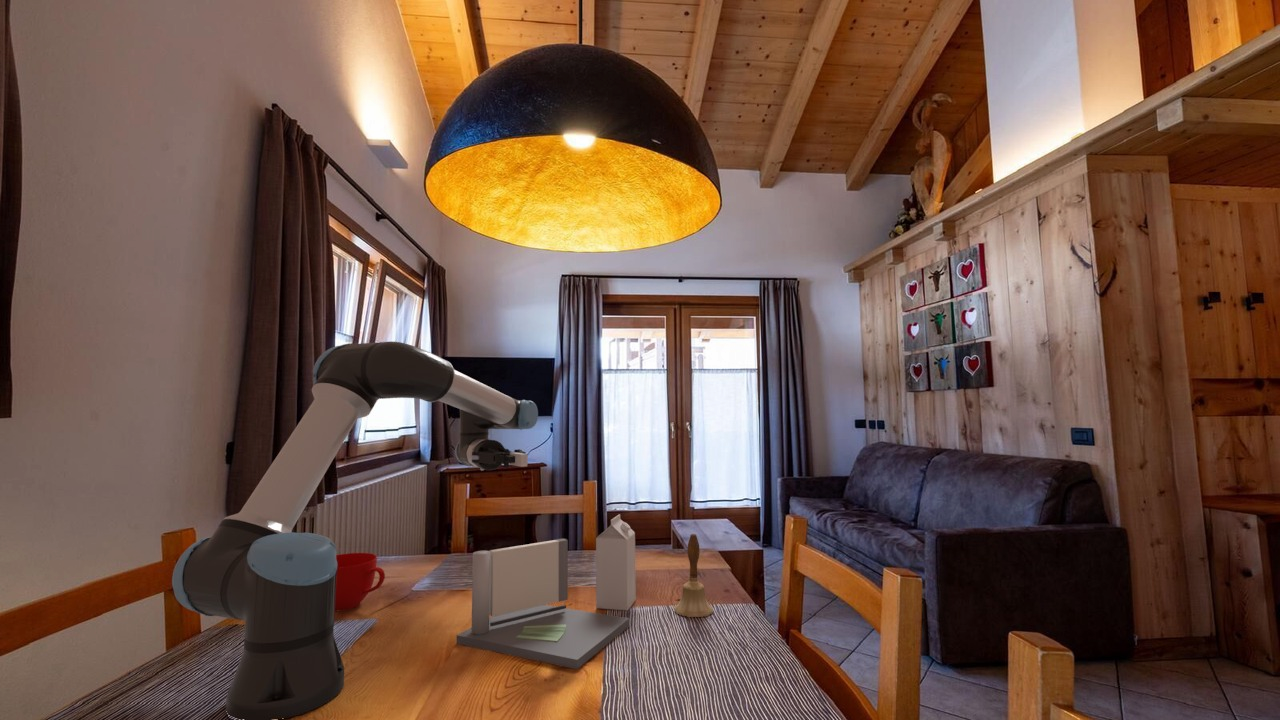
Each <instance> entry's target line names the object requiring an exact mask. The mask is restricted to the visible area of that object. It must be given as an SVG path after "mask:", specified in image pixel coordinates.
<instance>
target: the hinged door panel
mask: <svg viewBox="0 0 1280 720" xmlns="http://www.w3.org/2000/svg"><path fill="white" fill-rule="evenodd" d="M568 541H569V540H568V539H567V538H557V539H553V540H547V541H540V542H534V543H529V544H523V545H522V544H521V545H515V546H509V547H503V548H496V549H490V550H477V551H474V552H472V577H471V579H472V580H471V581H472V582H471V583H472V584H471V585H472V586H471V588H472V589H471V594H472V595H471V628H472V632H471V633H472V634H475V635H481V634H485V633H487V632H489V618H490V616H491V617H494V616H498V615H503V614H507V613H511V612H516V611H520V610H524V609H529V608H533V607H537V606H542V605H549V604H553V603H554V604H555V603H558V602H559V603H560V602H563V601H567V600H568V599H569V598H568V592H569V590H568V588H569V587H568V586H569V585H568V582H569V581H568V580H569V578H568V577H569V576H568V573H569V572H568V571H569V569H568V567H569V565H568V562H569V560H568V559H569V558H568V557H569V555H568V554H569V553H568V549H569V548H568V546H569V545H568V543H569V542H568ZM565 608H567V605H566V604H562V605H558V606H555V607H553V608H549V609H544V610H540V611H536V612H532V613H528V614H523V615H519V616H515V617H511V618H507V619H502V620H498V621H494V622H490V626H495V625H499V624H503V623H507V622H512V621H516V620H520V619H524V618H528V617H532V616H536V615H540V614H545V613H549V612H553V611H557V610H561V609H565Z"/></svg>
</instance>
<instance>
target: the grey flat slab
mask: <svg viewBox="0 0 1280 720" xmlns="http://www.w3.org/2000/svg"><path fill="white" fill-rule="evenodd" d="M553 607H556V606H555V605H549V604H546V605H542V606H537V607H533V608H529V609H524V610H520V611H516V612H511V613H507V614H503V615H498V616H494V617H492V616H491V617H489V632H487V633H485V634H481V635H475V634H472V633H471V632H472V627H470V628H468V629H466V630H464V631H462V632H460V633H458V634H456V643H455V644H457V645H460V646H465V647H466V646H467V647H470V648H475V649H480V650H484V651H489V652H494V653H499V654H502V655H504V654H505V655H508V656H512V657H519V658H522V659H527V660H531V661H536V662H541V663H546V664H551V665H555V666H561V667H565V668H570V669H574V670H579V669H580V668H581V667H582V666H584V664H586V663H587V662H588V661H589V660H590V659H592V658H593V657H595V655H597V654H598V653H599V652H600V651H602V650H603V649H604V648H605V647H606V646H607V645H609V644H610V643H611V642H612V641H613V640H615V639H616V638H617V637H619V635H620V633H621V632H622V633H623V632H624V631H625V630H627V629H628V628H629V627H630V617H623V616H617V615H612V614H611V615H610V614H604V613H600V612H599V613H598V612H592V611H585V610H580V609H573V608H567V607H566V608H565V609H561V610H557V611H553V612H549V613H545V614H540V615H536V616H532V617H528V618H524V619H520V620H516V621H512V622H507V623H503V624H499V625H495V626H490V622H494V621H498V620H502V619H507V618H511V617H515V616H519V615H523V614H528V613H532V612H536V611H540V610H544V609H549V608H553ZM628 626H629V627H628ZM627 627H628V628H627ZM626 628H627V629H626ZM622 633H621V634H622ZM615 637H616V638H615ZM608 643H609V644H608ZM602 648H603V649H602Z"/></svg>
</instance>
